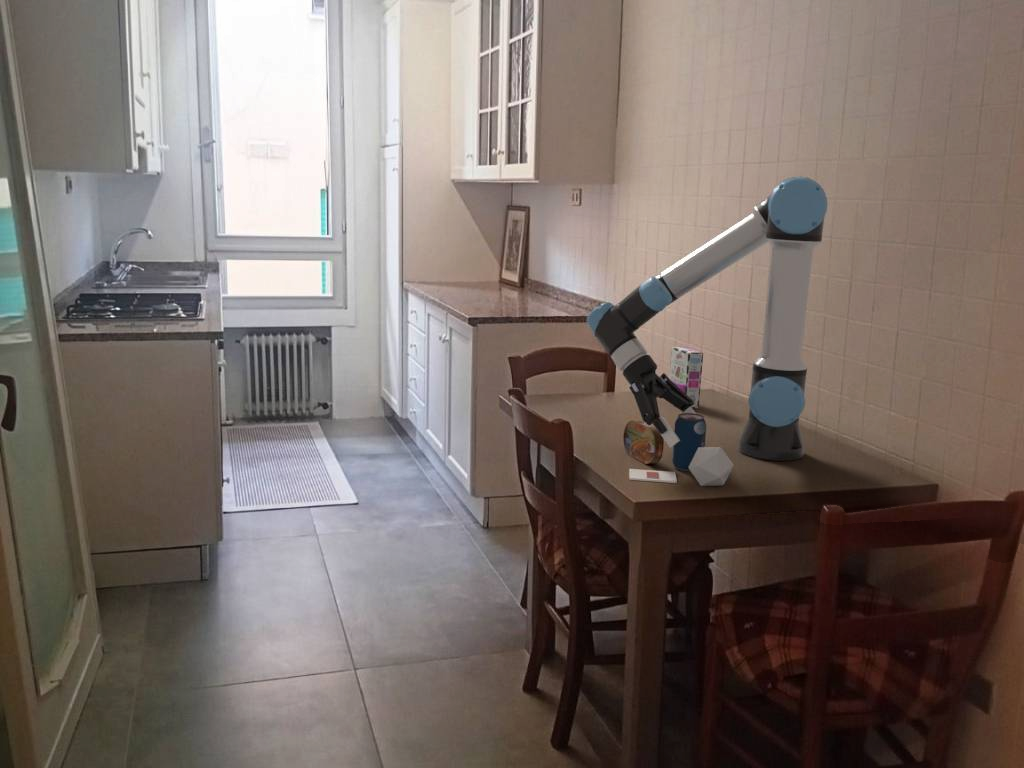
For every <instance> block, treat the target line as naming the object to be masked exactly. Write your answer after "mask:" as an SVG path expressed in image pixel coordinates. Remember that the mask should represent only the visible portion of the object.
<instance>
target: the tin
mask: <svg viewBox="0 0 1024 768" xmlns="http://www.w3.org/2000/svg"><path fill="white" fill-rule="evenodd" d="M622 438H623V447H624V449H625V452H626V454H627V455H628V456H630V457H631V458H633V459H635V460H636V461H639V462H641V463H643V464H645V465H649V464H650V465H653V464H654V465H655V464H657V463H659V462H660V461H661V459H662V458H663V452H664V445H665V440H664V439H663V437H662V436H661V434H660V433H659V432H658V430H657V429H656V427H655V426H654V425H653V426H652V425H648V424H647V423H646V422H644V421H643V420H629V421H628V422H627V423H626V425H625V427H624V430H623V437H622Z"/></svg>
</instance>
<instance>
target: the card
mask: <svg viewBox="0 0 1024 768" xmlns="http://www.w3.org/2000/svg"><path fill="white" fill-rule="evenodd" d="M628 475H629V477H628V478H629V479H628V480H629V481H640V482H653V483H654V482H657V483H670V484H678V483H677V482H678V480H677V475H676V471H668V470H667V471H666V470H655V469H654V470H652V469H639V468H638V469H636V468H629V473H628Z"/></svg>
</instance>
